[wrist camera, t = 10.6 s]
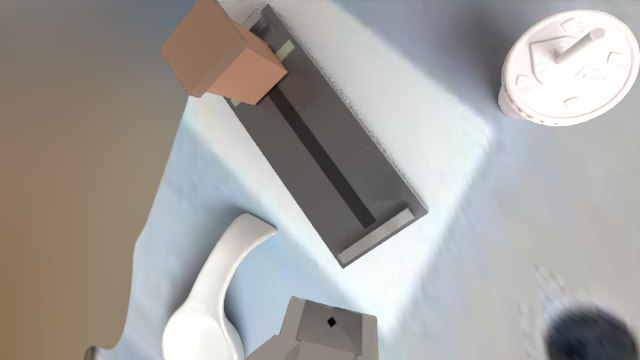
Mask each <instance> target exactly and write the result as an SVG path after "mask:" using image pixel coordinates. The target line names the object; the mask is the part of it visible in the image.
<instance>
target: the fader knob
mask: <svg viewBox="0 0 640 360" xmlns="http://www.w3.org/2000/svg"><path fill="white" fill-rule="evenodd" d="M158 50H159V51H160V53H161V54H162V56H163V57H164V59H165V60H166V62H167V63H168V65H169V66H170V67H171V69H172V71H173V72H174V73H175V75H176V76H177V78H178V79H179V81H180V82H181V84H182V85H183V87H184V88H185V90H186V91H187V93H188V94H189V95H190V96H194V97H198V98H200V97H201V96H202V95H203V94H204V93H205V92H210V93H213V94H217V95H220V96H224V97H227V98H231V99H234V100H238V101H241V102H245V103H248V104H252V105H255V104H256V103H257V102H258V101H259V100H260V99H261V98H262V97H263V96H264V95H265V94H266V93H267V92H268V91H269V90H270V89H271V88H272V87H273V86H274V85H275V84H276V83H277V82H278V81H279V80H280V79H281V78H282V77H283V76H284V75H285V74H286V73H287V72H288V71H287V70H286V69H285V67H284V66H283V65H282V63H281V62H280V61H279V59H278V58H277V57H276V55H275V54H274V53H273V51H272V50H271V49H270V47H269V46H268V45H267V43H266V42H264V41H263V40H262V39H260V38H259V37H257V36H256V35H254V34H253V33H251V32H250V31H248V30H247V29H245V28H244V27H242V26H241V25H240V24H238V23H237V22H235V21H234V20H232V19H231V18H230V17H229V16H228V15H227V13H226V12H225V11H224V9H223V8H222V6H221V5H220V4H219V2H218V1H217V0H198V1H197V2H196V3H195V5H194V6H193V7H192V9H191V10H190V11H189V12H188V13H187V15H186V16H185V17H184V18H183V20H182V21H181V22H180V23H179V25H178V26H177V27H176V28H175V30H174V31H173V32H172V33H171V35H170V36H169V37H168V38H167V39H166V41H165V42H164V43H163V44H162V46H161V47H160V48H159V49H158Z"/></svg>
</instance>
